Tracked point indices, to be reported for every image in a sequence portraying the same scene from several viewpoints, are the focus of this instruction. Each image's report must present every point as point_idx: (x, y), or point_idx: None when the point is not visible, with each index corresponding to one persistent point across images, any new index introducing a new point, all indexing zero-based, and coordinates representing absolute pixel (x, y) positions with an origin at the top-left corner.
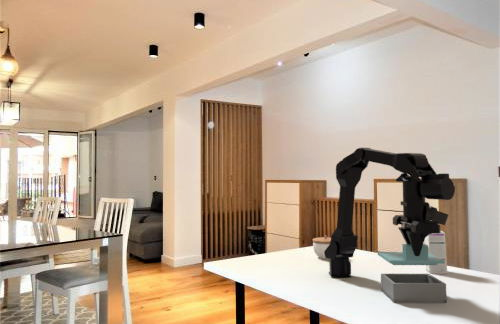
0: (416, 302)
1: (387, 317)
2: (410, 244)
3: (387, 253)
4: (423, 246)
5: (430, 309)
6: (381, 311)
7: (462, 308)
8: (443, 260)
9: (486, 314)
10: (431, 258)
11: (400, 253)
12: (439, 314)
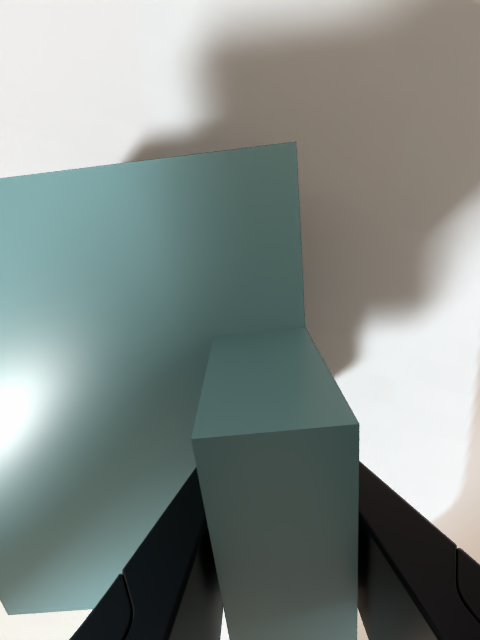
0: None
1: (449, 450)
2: (262, 618)
3: (52, 569)
4: (356, 479)
5: (373, 289)
6: (390, 457)
7: (361, 134)
8: (296, 155)
9: (452, 37)
10: (197, 264)
11: (14, 484)
12: (434, 272)
